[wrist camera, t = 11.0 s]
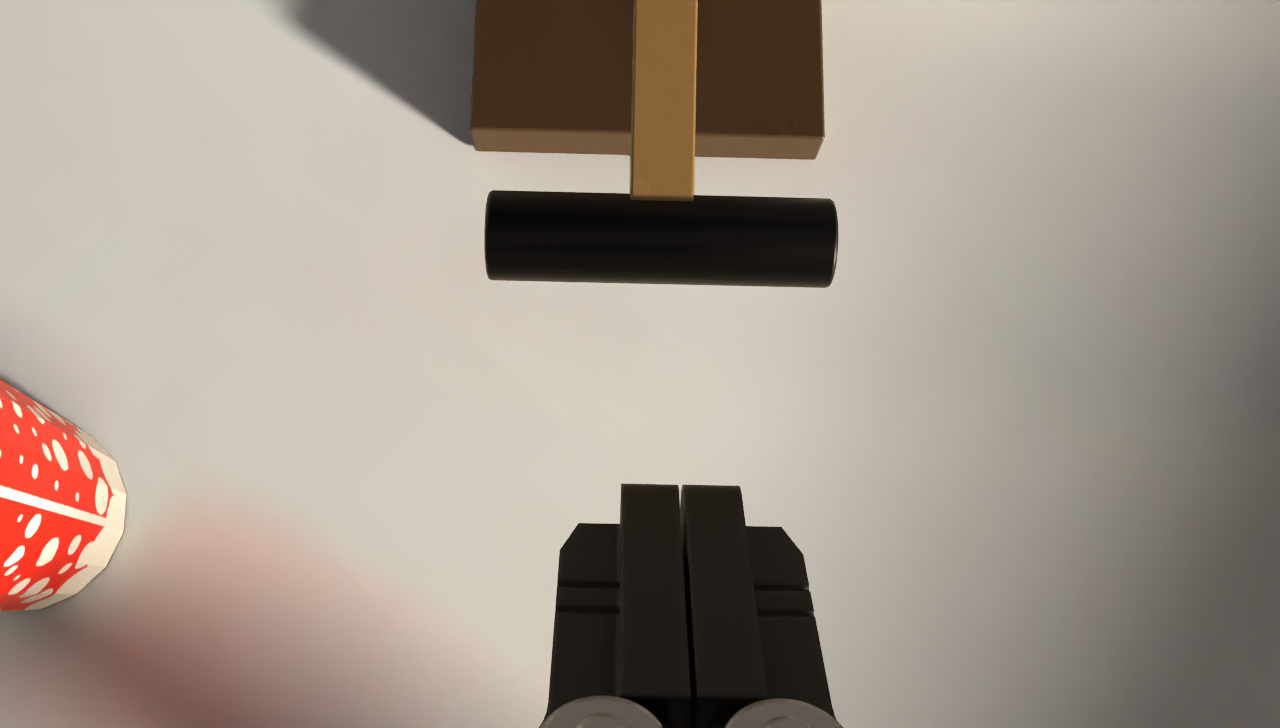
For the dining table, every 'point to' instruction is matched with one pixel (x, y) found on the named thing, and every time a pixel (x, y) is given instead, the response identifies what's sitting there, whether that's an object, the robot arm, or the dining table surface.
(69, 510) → the beverage cup
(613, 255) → the wooden lever handle
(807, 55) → the lever base
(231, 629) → the dining table surface
